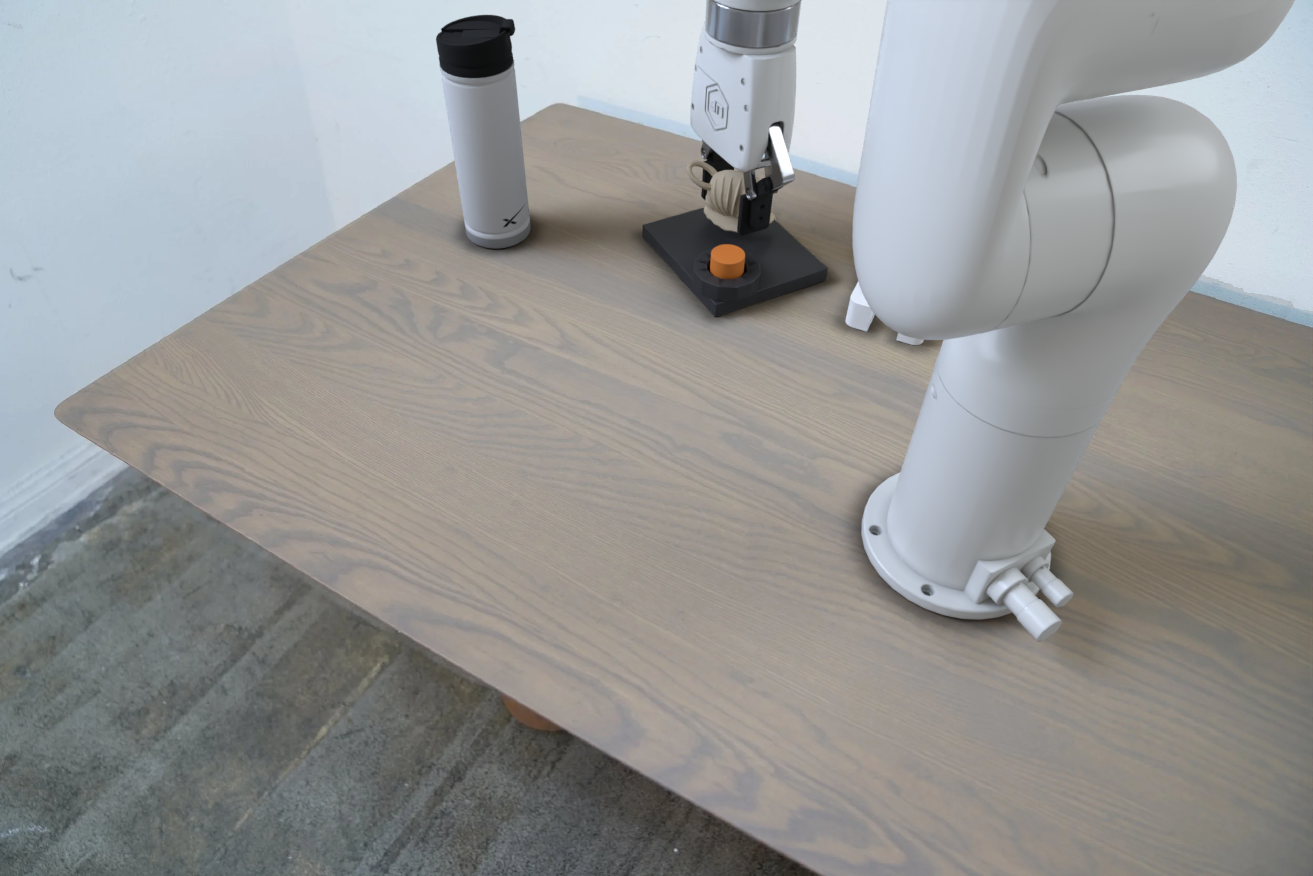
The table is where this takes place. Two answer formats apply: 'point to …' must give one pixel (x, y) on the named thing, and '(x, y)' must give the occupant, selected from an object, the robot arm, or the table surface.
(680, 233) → the black flat block
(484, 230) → the travel mug
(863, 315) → the slotted bracket
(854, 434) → the table surface
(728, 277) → the button
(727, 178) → the decorative ornament
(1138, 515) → the table surface
